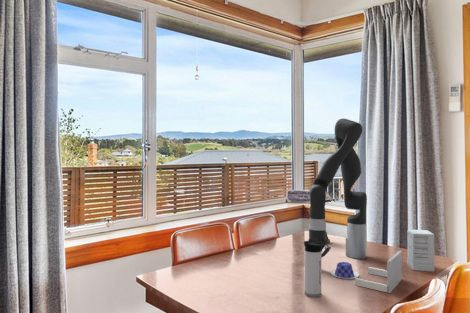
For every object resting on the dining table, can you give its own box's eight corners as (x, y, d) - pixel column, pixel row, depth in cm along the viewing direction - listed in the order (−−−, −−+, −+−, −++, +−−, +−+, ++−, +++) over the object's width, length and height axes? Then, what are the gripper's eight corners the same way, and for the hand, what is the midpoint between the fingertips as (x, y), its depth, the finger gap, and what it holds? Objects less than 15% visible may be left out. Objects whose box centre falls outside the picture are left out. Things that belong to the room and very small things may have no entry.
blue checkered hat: (324, 273, 158) (324, 261, 158) (345, 269, 163) (345, 258, 163) (343, 282, 147) (343, 269, 147) (365, 278, 152) (365, 265, 152)
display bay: (354, 284, 143) (354, 255, 143) (368, 272, 158) (369, 245, 158) (390, 293, 135) (390, 261, 135) (401, 279, 150) (401, 250, 149)
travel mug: (301, 291, 137) (301, 239, 137) (318, 290, 138) (318, 239, 137) (306, 297, 131) (306, 243, 131) (323, 297, 131) (323, 243, 131)
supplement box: (435, 271, 158) (435, 234, 158) (412, 270, 160) (412, 233, 160) (427, 265, 168) (428, 229, 167) (406, 263, 170) (407, 228, 169)
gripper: (300, 227, 164) (300, 264, 164) (327, 231, 156) (327, 270, 156) (307, 224, 170) (307, 260, 170) (334, 228, 162) (334, 266, 162)
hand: (317, 265), depth 163 cm, fingers closed
